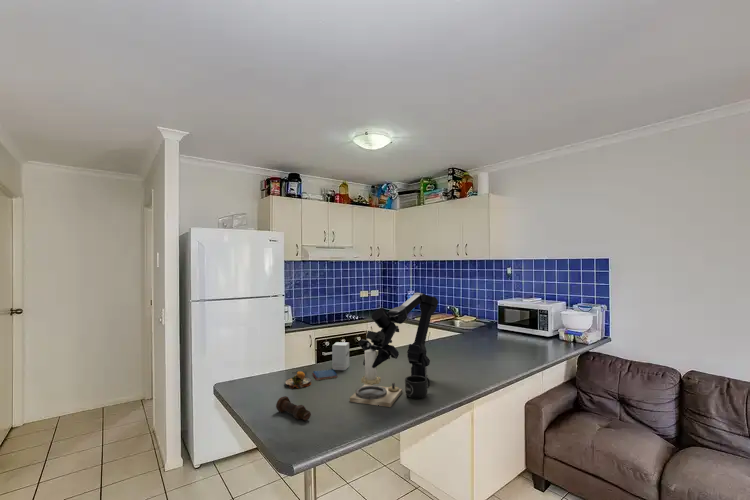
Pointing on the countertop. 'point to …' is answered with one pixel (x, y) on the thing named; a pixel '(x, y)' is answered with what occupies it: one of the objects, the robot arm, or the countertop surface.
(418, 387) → the mug
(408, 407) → the countertop surface
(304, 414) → the bolt
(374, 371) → the gear spindle
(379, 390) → the gear board
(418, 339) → the robot arm
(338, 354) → the supplement box
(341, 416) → the countertop surface
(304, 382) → the burger
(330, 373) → the woven mat
